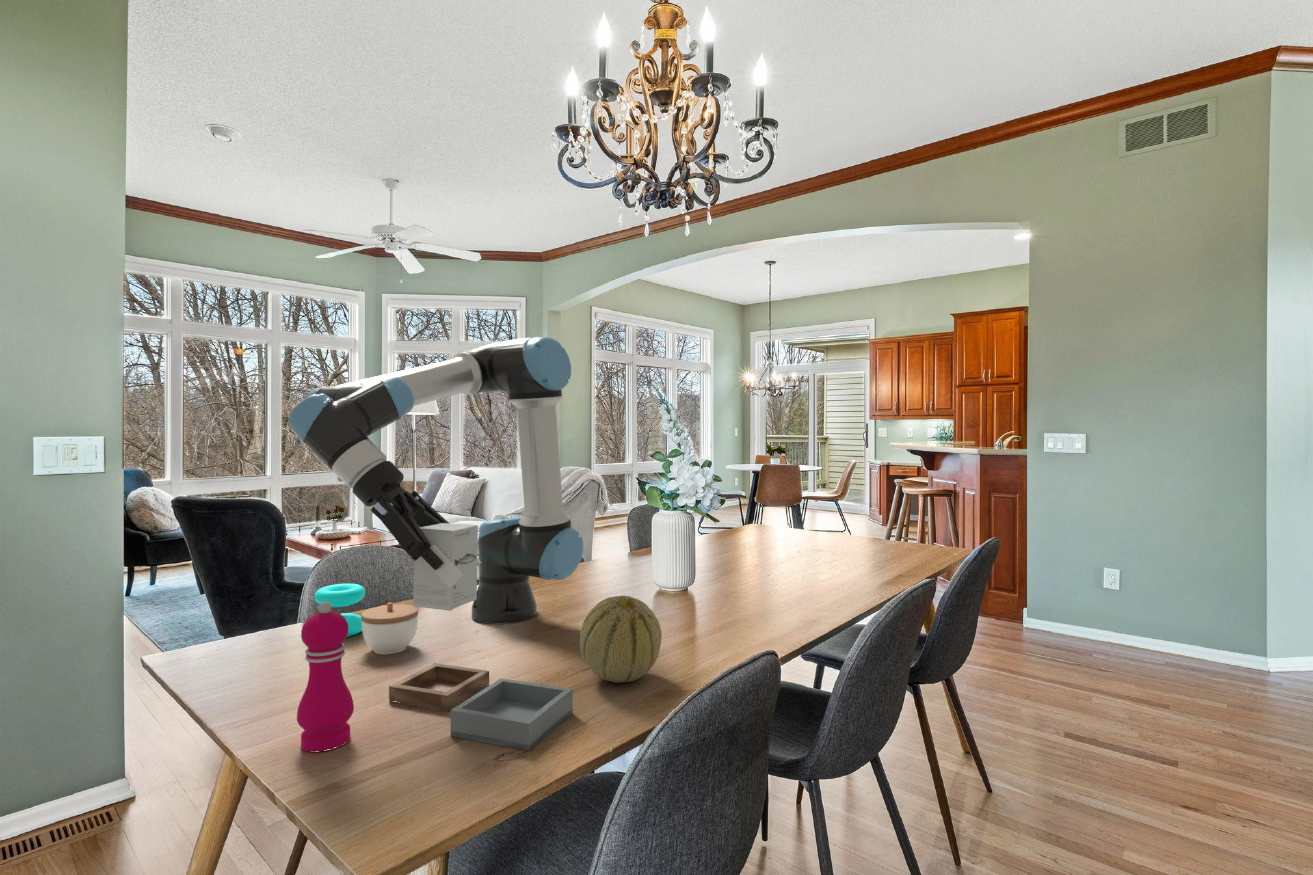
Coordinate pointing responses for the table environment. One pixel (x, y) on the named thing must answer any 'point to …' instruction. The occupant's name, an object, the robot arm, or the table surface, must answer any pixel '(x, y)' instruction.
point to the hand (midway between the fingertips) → (466, 574)
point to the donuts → (343, 602)
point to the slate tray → (512, 713)
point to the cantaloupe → (620, 639)
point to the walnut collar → (416, 695)
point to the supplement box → (462, 552)
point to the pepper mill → (325, 683)
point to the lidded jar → (389, 627)
